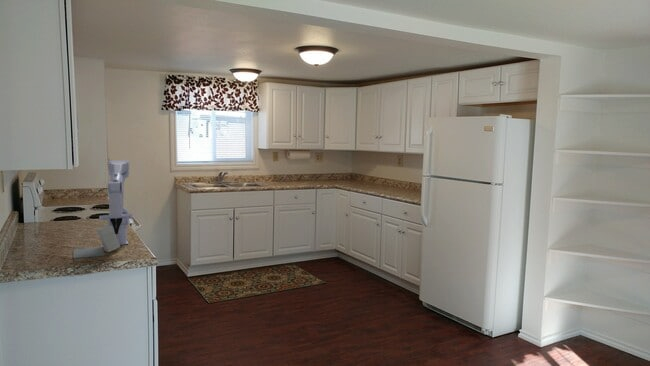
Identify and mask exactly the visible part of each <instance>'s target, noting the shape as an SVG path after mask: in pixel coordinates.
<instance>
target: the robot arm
mask: <svg viewBox="0 0 650 366" xmlns="http://www.w3.org/2000/svg"><path fill="white" fill-rule="evenodd" d="M107 164H108V175H109V182H107V193H108V195H107V196H108V203H109V205H108V207H109V210H108V211H109V212H108V214H104V215H99V221H105V220H107V221H108V222H107V224H109V225H112V227H113V230H114V232H115V235H116V237H117V240H118V242H119V245H120V246H121V245H129V242H128V235H127V233H128V229H127V227H128V226H129V225H130V219H133V214H132V213H130V212H129V210H128V209H126V208H125V207H124V206H125V205H124V202H125V201H124V200H125V198H124V197H125V196H124V194H125V193H124V192H125V190H124V189H125V187H124V186H125V180H126V179H128V178H129V175H130V161H129V160H110V159H109V160H108V163H107Z"/></svg>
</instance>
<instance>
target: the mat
mask: <svg viewBox="0 0 650 366" xmlns="http://www.w3.org/2000/svg"><path fill="white" fill-rule="evenodd" d="M72 254H73V255H72V257H73V260H76V259H88V258H99V257H106V254H105V249H104V247H103V246H99V247H96V246H95V247H85V248H75V249H73V253H72Z"/></svg>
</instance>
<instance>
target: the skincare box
mask: <svg viewBox="0 0 650 366" xmlns="http://www.w3.org/2000/svg"><path fill="white" fill-rule="evenodd" d="M96 233H97V235H98V237H99V240H100V242H101V244H102V247H103V249H104V252H107V253H110V252H113V251H114V250H117V249H118V248H120V247H121V245H119V242H118V240H117V237H116V235H115V232H114V230H113V227H112V225H109V224H108V223H107V224H105V225H103V226H101V227H99V228H97V229H96Z"/></svg>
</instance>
